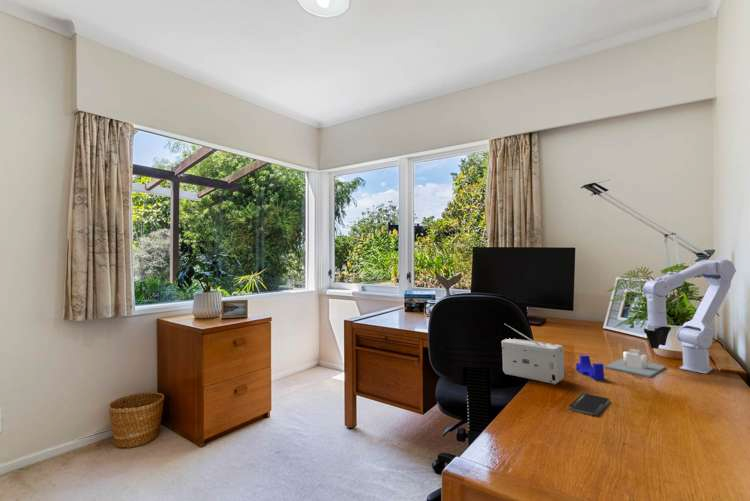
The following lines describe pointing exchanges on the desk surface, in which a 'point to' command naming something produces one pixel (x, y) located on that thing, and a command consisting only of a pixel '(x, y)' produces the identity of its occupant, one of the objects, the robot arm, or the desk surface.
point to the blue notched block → (590, 368)
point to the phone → (589, 404)
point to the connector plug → (635, 359)
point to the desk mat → (648, 372)
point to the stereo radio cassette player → (533, 359)
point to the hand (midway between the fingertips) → (658, 346)
